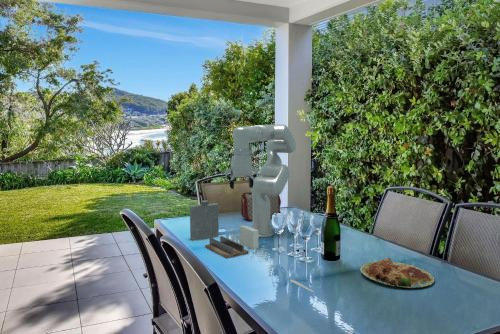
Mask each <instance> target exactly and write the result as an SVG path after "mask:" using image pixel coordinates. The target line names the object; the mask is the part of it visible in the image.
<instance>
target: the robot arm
mask: <svg viewBox="0 0 500 334" xmlns="http://www.w3.org/2000/svg"><path fill="white" fill-rule="evenodd" d="M232 139H233V155H232V156H231V160H230V168H229V169H226V170H224V171H223V173H224V175H225V177H226V178H227V179H228V180H229V188H230V189H232V190H234V189H235V181H234V179H235V178H237V177H249V179H248V180H249V181H248V185H249V186H248V187H249V188H250V190H251V192H252V199H253V221H252V228H253V229H256V230H258V238H270V237H272V236H273V235H274V231H273V230H274V229H273V226H274V225H271V219H270V200H269V198H268V196H267V195H275V196H277V195H279V196H280V195H281V194H282V193H283V190H284V189H285V187H286V185H287V183H288V180H289V177H290V173H291V172H290V168H289V167H288V166H287V165H286V164H283V162H282V159H281V156H280V155H279V154H292V153H294V152H295V151H296V148H297V142H296V140H295V137H294V135H293V133H292V131H291V129H290V128H289V127H288V126H287V125H286V124H258V125H250V126H249V125H248V126H236V127H235V128H234V129H233V131H232ZM256 142H266V153H267V159H266V161H265V162H264V164H263V166H262V168H261V170H260V173H259V170H258V169H256V168H254V167H253V163H252V157H251V154H252V153H253V150H251V149H250V143H256ZM278 153H279V154H278ZM253 172H254V173H253ZM229 173H230V175H229ZM258 174H259V175H260V176H258Z"/></svg>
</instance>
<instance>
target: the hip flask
mask: <svg viewBox="0 0 500 334" xmlns="http://www.w3.org/2000/svg"><path fill="white" fill-rule="evenodd" d="M200 202H201V204H195V205H190V206H189V232H190V236H189V238H190V241H202V240H207V239H210V238H213V239H214V238H217V237H220V236H219V233H220V231H219V229H220V227H219V226H220V225H219V203H217V202H214V203H209V200H206V199H205V200H201V201H200Z"/></svg>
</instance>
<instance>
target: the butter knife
mask: <svg viewBox="0 0 500 334" xmlns="http://www.w3.org/2000/svg"><path fill="white" fill-rule="evenodd" d="M290 282H291V283H293V284H294V285H295V286H296V285H297V286H298V287H301V288H303V289H306V290H307V291H308V292H309V291H310V292H312V293H314V292H315V291H314V290H313V289H311V288H309V287H307V286H306V285H304V284H303V283H301V282H299V281H296V280H294V279H290Z"/></svg>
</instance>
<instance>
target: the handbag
mask: <svg viewBox="0 0 500 334" xmlns="http://www.w3.org/2000/svg"><path fill="white" fill-rule="evenodd" d="M267 196H268V198H269V200H270V220H272V219H271V218H272V215H273V214H274V213H281V214H282V211H281V204H282V201H281V197H280V195H277V196H275V195H267ZM240 200H241V201H240V202H241V211H240V212H241V217H242V218H244V219H245V220H248V221H250V222H253V199H252V191H251V192H243V193H242V194H241V199H240Z"/></svg>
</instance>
